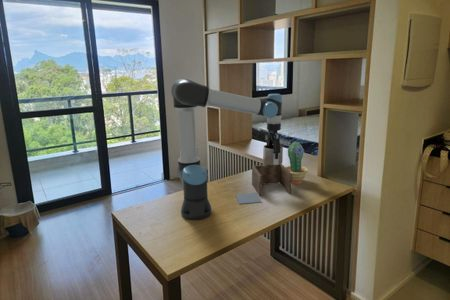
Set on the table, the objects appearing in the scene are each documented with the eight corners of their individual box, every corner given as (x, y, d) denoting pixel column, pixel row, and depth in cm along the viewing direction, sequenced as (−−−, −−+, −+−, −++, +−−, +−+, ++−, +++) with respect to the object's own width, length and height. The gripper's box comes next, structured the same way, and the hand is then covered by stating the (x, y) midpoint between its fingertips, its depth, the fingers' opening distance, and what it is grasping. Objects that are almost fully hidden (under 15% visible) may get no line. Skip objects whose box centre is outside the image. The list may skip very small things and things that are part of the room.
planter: (280, 166, 171) (281, 149, 168) (261, 165, 174) (261, 148, 172) (283, 161, 181) (284, 145, 178) (265, 159, 184) (265, 143, 182)
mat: (239, 204, 166) (239, 203, 166) (235, 195, 177) (235, 194, 177) (261, 202, 167) (261, 201, 167) (256, 193, 179) (256, 192, 179)
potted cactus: (279, 184, 192) (281, 144, 185) (284, 175, 206) (285, 138, 199) (305, 187, 186) (308, 146, 180) (308, 178, 200) (311, 140, 193)
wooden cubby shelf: (259, 196, 175) (259, 175, 172) (252, 184, 192) (252, 165, 189) (291, 193, 178) (291, 173, 174) (281, 182, 195) (281, 163, 192)
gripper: (287, 126, 161) (285, 167, 167) (274, 118, 183) (273, 155, 189) (273, 127, 160) (272, 168, 165) (261, 119, 182) (260, 155, 188)
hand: (272, 161), depth 177 cm, fingers closed on planter, 11 cm apart
